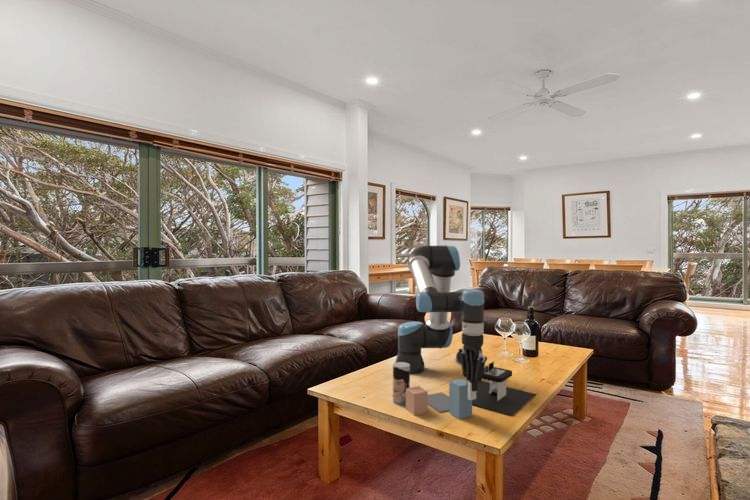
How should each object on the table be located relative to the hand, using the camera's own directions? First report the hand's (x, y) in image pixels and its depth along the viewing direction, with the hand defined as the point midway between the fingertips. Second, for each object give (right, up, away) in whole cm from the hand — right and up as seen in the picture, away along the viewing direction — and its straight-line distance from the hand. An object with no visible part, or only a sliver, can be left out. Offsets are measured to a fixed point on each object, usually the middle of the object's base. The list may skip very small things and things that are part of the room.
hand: (471, 398), depth 144 cm
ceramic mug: (+12, -7, +68) cm, 70 cm away
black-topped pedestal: (+15, -8, +23) cm, 29 cm away
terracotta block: (-19, -8, +9) cm, 23 cm away
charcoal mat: (-8, -8, +17) cm, 21 cm away
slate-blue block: (-3, -8, +6) cm, 10 cm away
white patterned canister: (-24, -8, +18) cm, 31 cm away
